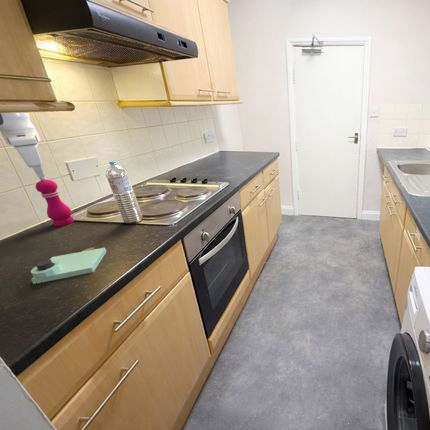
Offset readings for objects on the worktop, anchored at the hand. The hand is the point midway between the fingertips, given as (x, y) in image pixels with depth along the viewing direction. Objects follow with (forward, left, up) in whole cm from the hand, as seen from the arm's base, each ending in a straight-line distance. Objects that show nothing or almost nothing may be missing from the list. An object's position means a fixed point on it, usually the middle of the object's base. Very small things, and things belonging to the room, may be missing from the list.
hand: (40, 174), depth 101 cm
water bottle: (+27, -10, -21) cm, 35 cm away
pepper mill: (0, 0, -21) cm, 21 cm away
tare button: (+13, -43, -18) cm, 49 cm away
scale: (+17, -40, -21) cm, 48 cm away
